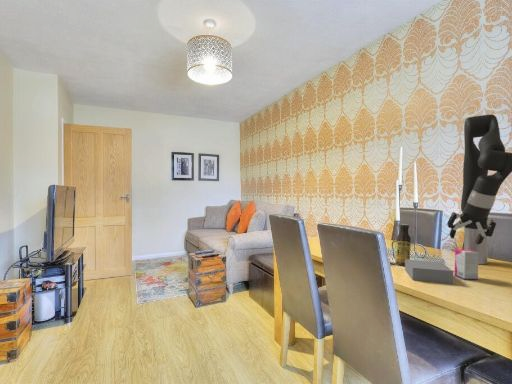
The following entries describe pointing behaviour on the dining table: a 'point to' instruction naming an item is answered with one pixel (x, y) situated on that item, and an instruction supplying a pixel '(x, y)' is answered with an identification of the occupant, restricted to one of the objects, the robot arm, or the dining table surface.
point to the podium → (428, 271)
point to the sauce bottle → (403, 245)
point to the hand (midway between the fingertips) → (464, 240)
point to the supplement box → (466, 264)
